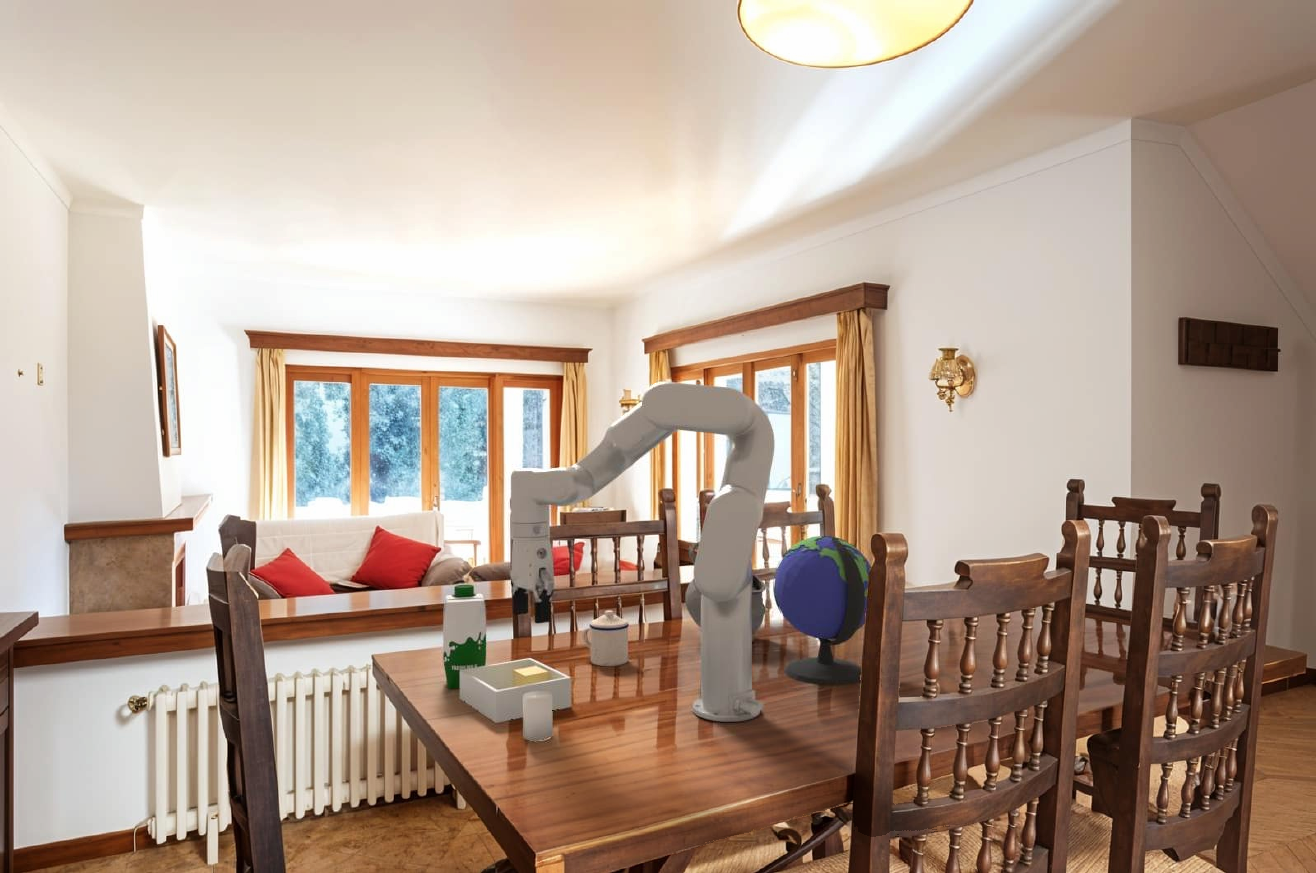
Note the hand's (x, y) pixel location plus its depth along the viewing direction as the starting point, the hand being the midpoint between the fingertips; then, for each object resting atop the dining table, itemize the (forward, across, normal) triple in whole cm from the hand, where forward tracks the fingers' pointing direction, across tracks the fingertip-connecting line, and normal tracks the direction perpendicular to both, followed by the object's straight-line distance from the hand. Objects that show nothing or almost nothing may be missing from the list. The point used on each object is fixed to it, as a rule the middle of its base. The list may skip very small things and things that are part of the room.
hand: (531, 618), depth 158 cm
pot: (+16, +14, -61) cm, 65 cm away
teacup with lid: (+16, +16, -26) cm, 35 cm away
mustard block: (+15, 0, 0) cm, 15 cm away
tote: (+16, 0, +4) cm, 16 cm away
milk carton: (+16, +18, +7) cm, 25 cm away
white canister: (+16, -19, +8) cm, 26 cm away
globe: (+17, -21, -60) cm, 66 cm away
